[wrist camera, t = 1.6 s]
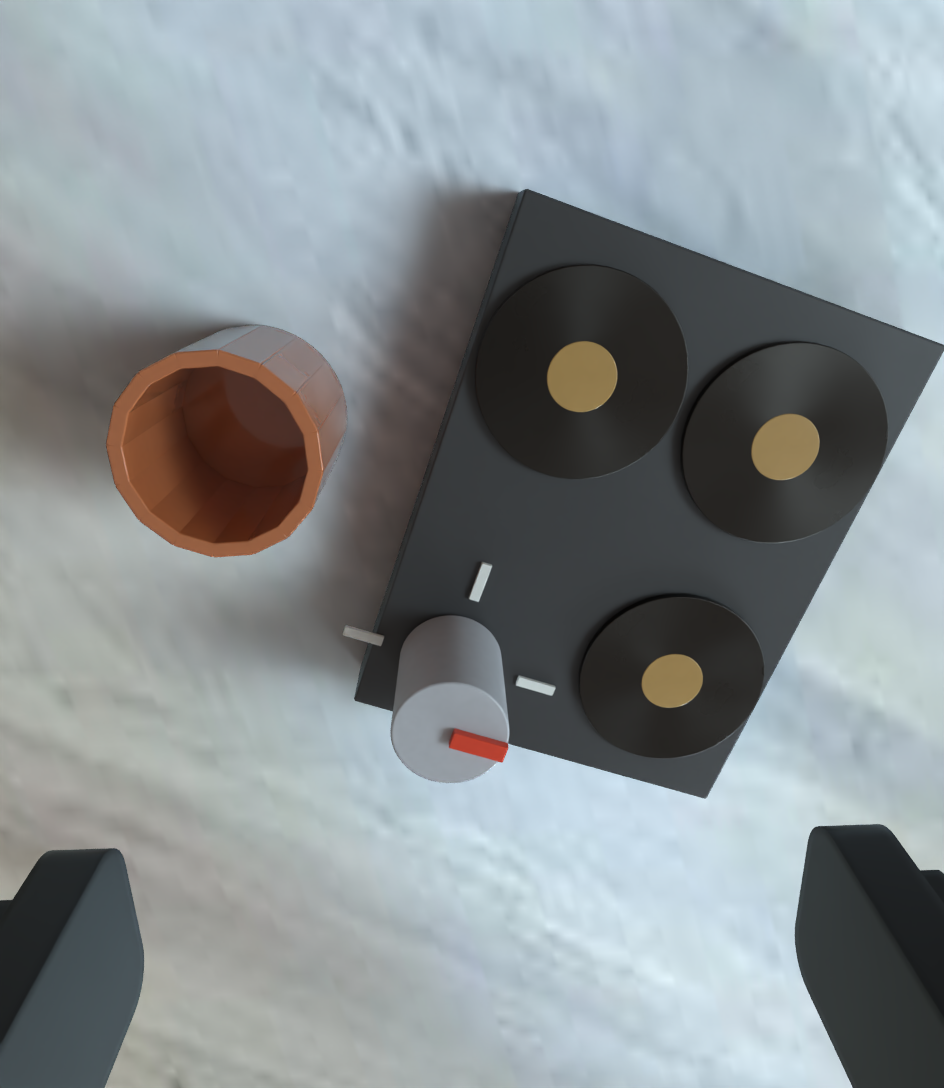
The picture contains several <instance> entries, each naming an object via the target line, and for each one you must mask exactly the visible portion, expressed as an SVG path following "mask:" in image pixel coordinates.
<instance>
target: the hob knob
mask: <svg viewBox="0 0 944 1088" xmlns="http://www.w3.org/2000/svg"><path fill="white" fill-rule="evenodd" d="M391 740H392V745H393V747H394V750H395V752H396V754H397V756H398V757H399V759H400V760H401V761H402V763H403V764H404V765H405V766H406V767H407V768H408V769H410V770H411V771H412V772H414V773H415V774H417V775H419V776H421V777H423V778H425V779H428V780H431V781H435V782H441V783H459V782H464V781H469V780H472V779H474V778H477V777H479V776H481V775H483V774H484V773H486V772H487V771H489V770H490V769H491V768H492V767H494V766H495V765H496V763H497V762H503V760H504V758H505V755H506V753H507V750H508V740H509V721H508V712H507V703H506V694H505V684H504V675H503V666H502V657H501V651H500V647H499V645H498V643H497V641H496V639H495V638H494V636H493V635H492V634H491V632H490V631H489V630H488V629H486V628H485V627H484V626H483V625H481V624H480V623H478V622H476V621H474V620H472V619H469V618H466V617H462V616H454V615H447V616H440V617H436V618H432V619H430V620H427V621H425V622H424V623H422V624H420V625H419V626H417V627H416V628H415V629H414V630H413V631H412V632H411V633H410V634H409V635H408V637H407V638H406V640H405V641H404V644H403V646H402V649H401V652H400V660H399V667H398V675H397V683H396V691H395V699H394V707H393V715H392V723H391Z"/></svg>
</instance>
